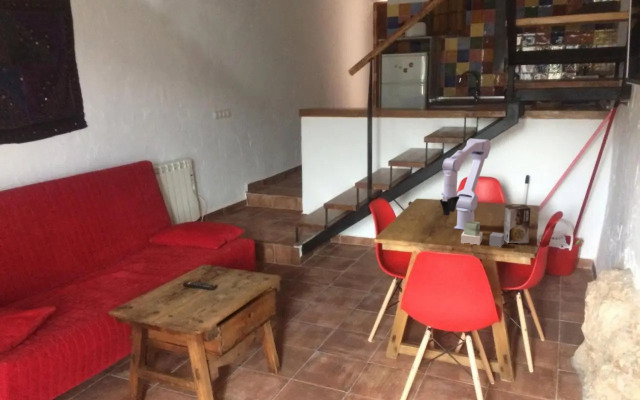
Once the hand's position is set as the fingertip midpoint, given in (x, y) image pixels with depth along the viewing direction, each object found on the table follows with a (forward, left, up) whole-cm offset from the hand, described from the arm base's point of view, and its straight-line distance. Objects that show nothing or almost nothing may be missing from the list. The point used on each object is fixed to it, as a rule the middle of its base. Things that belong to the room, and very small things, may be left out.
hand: (449, 213), depth 234 cm
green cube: (+5, +12, -7) cm, 15 cm away
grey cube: (+5, +23, -11) cm, 26 cm away
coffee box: (-4, +29, -11) cm, 31 cm away
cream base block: (+4, +12, -11) cm, 17 cm away
